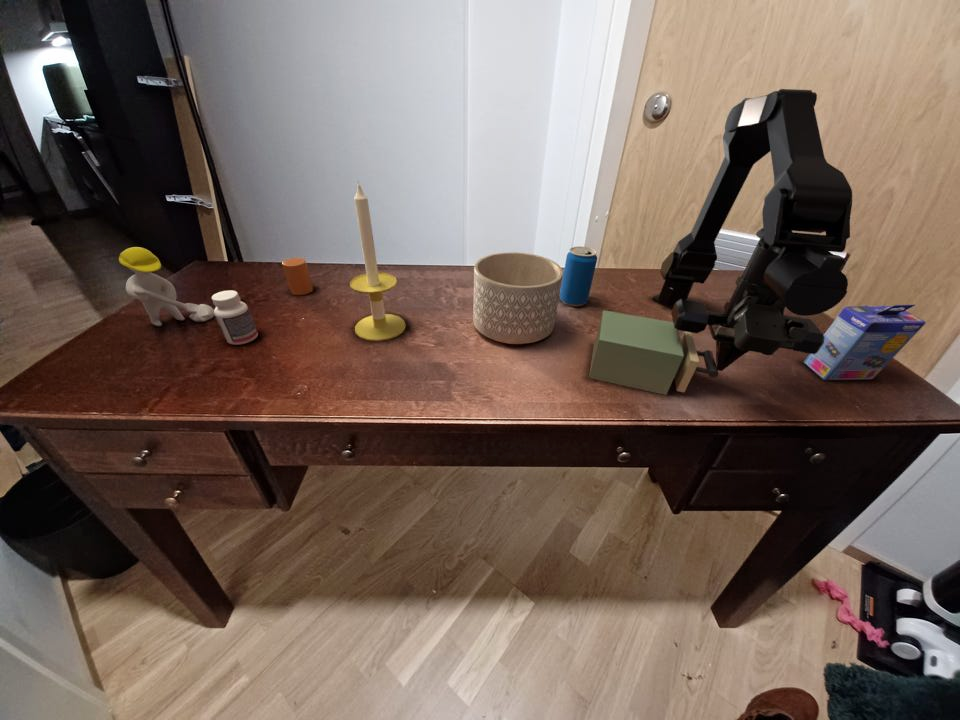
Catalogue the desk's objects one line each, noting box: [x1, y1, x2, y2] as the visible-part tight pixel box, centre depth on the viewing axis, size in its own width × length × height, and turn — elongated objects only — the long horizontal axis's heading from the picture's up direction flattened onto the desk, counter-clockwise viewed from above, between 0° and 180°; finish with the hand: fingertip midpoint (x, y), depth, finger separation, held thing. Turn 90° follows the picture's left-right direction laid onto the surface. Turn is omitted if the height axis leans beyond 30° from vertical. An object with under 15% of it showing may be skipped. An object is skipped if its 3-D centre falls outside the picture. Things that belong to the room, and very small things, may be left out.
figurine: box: [118, 246, 215, 327], centre depth 69 cm, size 10×9×15 cm
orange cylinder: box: [282, 257, 314, 296], centre depth 83 cm, size 5×5×7 cm
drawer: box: [674, 331, 719, 393], centre depth 61 cm, size 15×9×6 cm, turn 71°
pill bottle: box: [211, 289, 259, 346], centre depth 66 cm, size 5×5×9 cm
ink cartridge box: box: [803, 304, 927, 381], centre depth 62 cm, size 10×6×14 cm, turn 95°
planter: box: [472, 251, 564, 345], centre depth 71 cm, size 16×16×13 cm
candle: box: [349, 181, 407, 342], centre depth 65 cm, size 10×10×27 cm
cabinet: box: [588, 309, 684, 396], centre depth 62 cm, size 12×10×8 cm
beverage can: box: [559, 246, 598, 307], centre depth 82 cm, size 6×6×12 cm
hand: (718, 369), depth 60 cm, fingers closed
